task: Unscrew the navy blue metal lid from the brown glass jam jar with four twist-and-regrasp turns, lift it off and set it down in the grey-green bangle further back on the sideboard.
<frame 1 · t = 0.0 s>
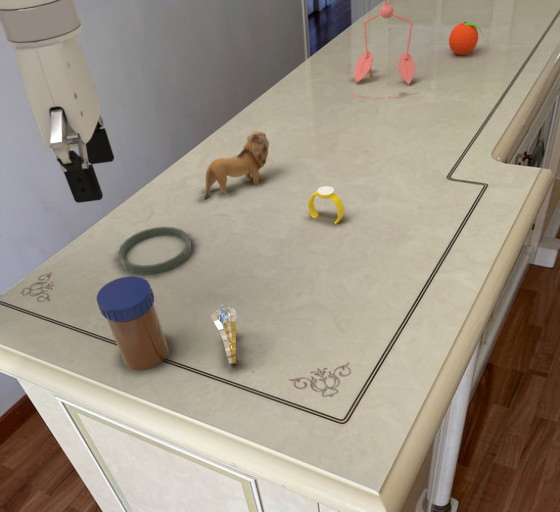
hand: (96, 180, 71), 21 cm above the sideboard top, tool pointing down, fingers open, 9 cm apart
clementine: (463, 55, 146), on the sideboard top
watch: (326, 224, 97), on the sideboard top
lid: (124, 294, 71), point 11 cm above the sideboard top, screwed on, not yet turned
figurine: (379, 88, 136), on the sideboard top
lion figurine: (240, 189, 109), on the sideboard top
jar: (147, 358, 78), on the sideboard top
grey-green bangle: (157, 257, 95), on the sideboard top
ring: (233, 358, 77), on the sideboard top
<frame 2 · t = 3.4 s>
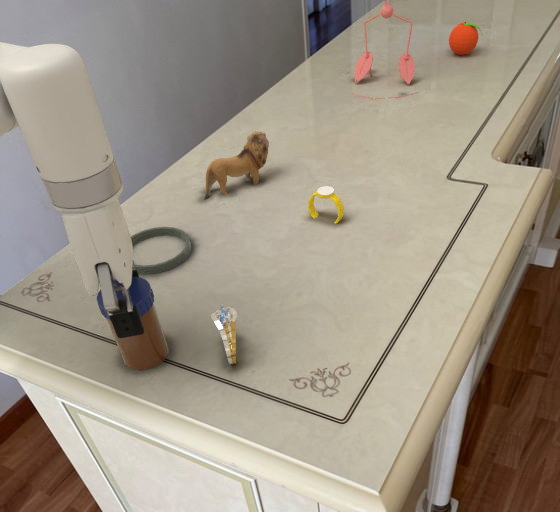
hand: (132, 315, 73), 8 cm above the sideboard top, tool pointing down, fingers closed on lid, 6 cm apart
lid: (124, 294, 71), point 11 cm above the sideboard top, screwed on, not yet turned, touching gripper
everything else where it was.
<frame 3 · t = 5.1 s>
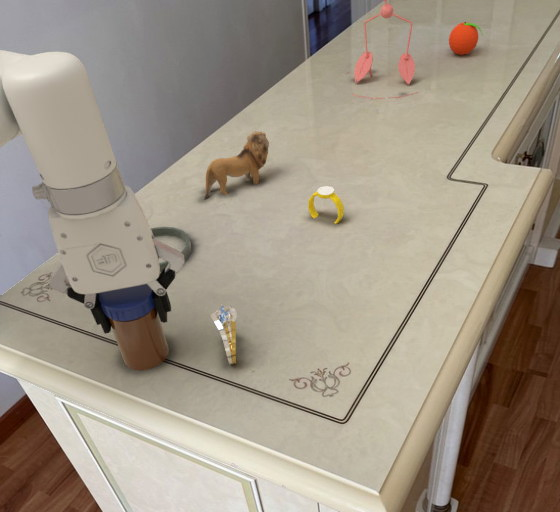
hand: (136, 320, 73), 7 cm above the sideboard top, tool pointing down, fingers closed on lid, 6 cm apart
lid: (126, 294, 70), point 11 cm above the sideboard top, turned 89° so far, risen 0.1 cm, still on its thread, touching gripper
jar: (147, 358, 78), on the sideboard top, touching gripper
everything else where it was.
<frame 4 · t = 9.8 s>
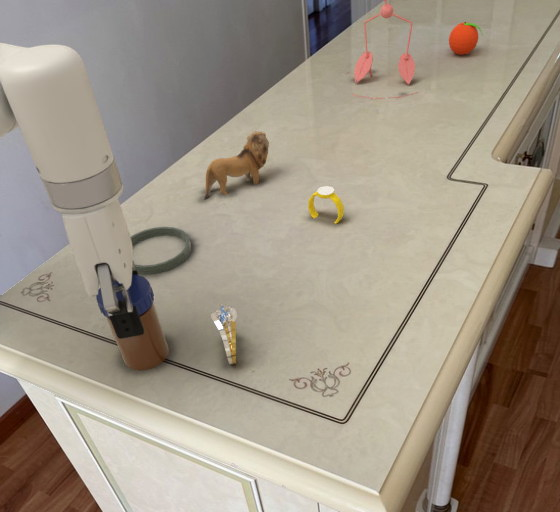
hand: (131, 315, 73), 7 cm above the sideboard top, tool pointing down, fingers closed on lid, 6 cm apart
lid: (124, 293, 70), point 11 cm above the sideboard top, turned 178° so far, risen 0.2 cm, still on its thread, touching gripper
jar: (147, 358, 78), on the sideboard top
everything else where it was.
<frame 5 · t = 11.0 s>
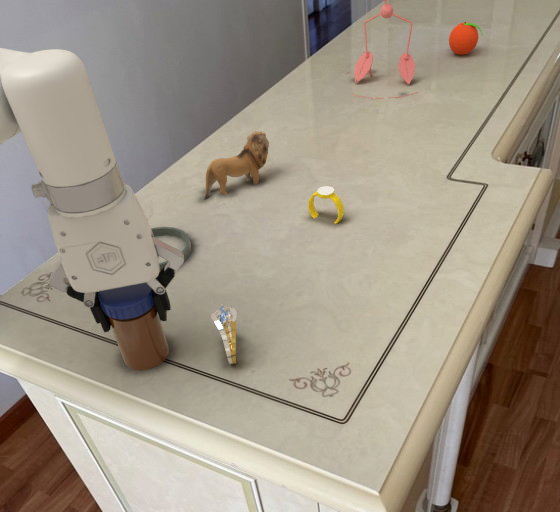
hand: (135, 318, 73), 7 cm above the sideboard top, tool pointing down, fingers closed on lid, 6 cm apart
lid: (126, 292, 70), point 11 cm above the sideboard top, turned 267° so far, risen 0.3 cm, still on its thread, touching gripper
jar: (147, 358, 78), on the sideboard top, touching gripper
everything else where it was.
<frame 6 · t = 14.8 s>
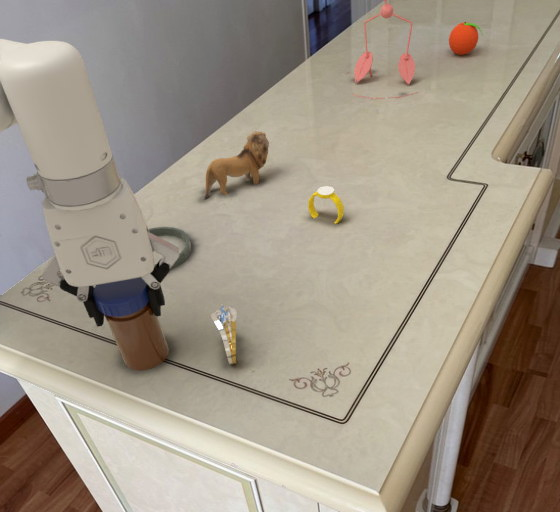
hand: (129, 313, 73), 8 cm above the sideboard top, tool pointing down, fingers closed on lid, 6 cm apart
lid: (120, 289, 70), point 11 cm above the sideboard top, off its thread, touching gripper
everything else where it was.
when the fingers open (2 cm above the sideboard top, at t = 22.4 s): lid drops 3 cm, resting on grey-green bangle.
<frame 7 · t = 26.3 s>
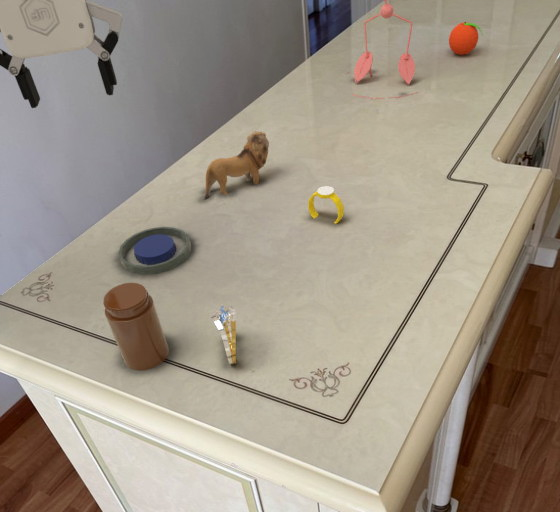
hand: (73, 97, 76), 26 cm above the sideboard top, tool pointing down, fingers open, 9 cm apart
lid: (154, 247, 94), point 2 cm above the sideboard top, off its thread, touching grey-green bangle
jar: (148, 358, 78), on the sideboard top
everything else where it was.
at the end: lid came off its thread; lid 0.0 cm off-centre in the grey-green bangle, point 1.9 cm above the grey-green bangle's base; the gripper is holding nothing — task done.
